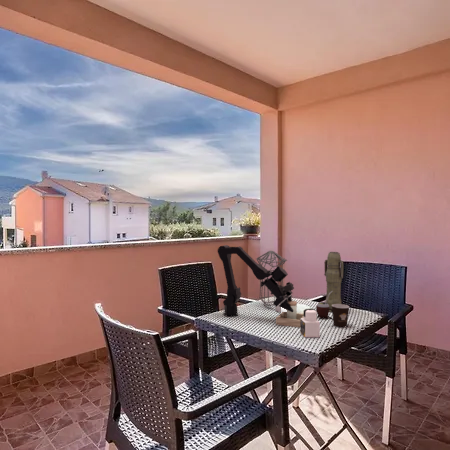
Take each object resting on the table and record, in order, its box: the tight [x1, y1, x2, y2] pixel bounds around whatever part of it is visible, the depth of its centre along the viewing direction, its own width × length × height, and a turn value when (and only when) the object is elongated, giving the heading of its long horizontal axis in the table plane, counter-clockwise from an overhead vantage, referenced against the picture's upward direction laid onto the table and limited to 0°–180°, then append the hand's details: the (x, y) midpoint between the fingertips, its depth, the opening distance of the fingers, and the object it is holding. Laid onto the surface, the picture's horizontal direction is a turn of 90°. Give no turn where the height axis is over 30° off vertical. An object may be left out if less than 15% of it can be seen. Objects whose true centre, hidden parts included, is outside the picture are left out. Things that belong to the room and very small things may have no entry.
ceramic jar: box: [287, 300, 298, 319], centre depth 188 cm, size 5×5×11 cm
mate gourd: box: [315, 291, 333, 320], centre depth 199 cm, size 8×8×15 cm
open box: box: [275, 312, 303, 328], centre depth 188 cm, size 13×13×4 cm
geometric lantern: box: [256, 250, 288, 309], centre depth 222 cm, size 16×16×35 cm
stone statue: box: [323, 251, 345, 314], centre depth 213 cm, size 9×12×35 cm
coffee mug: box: [325, 303, 350, 328], centre depth 185 cm, size 12×9×10 cm
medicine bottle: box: [299, 308, 321, 338], centre depth 168 cm, size 7×7×12 cm
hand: (294, 310), depth 188 cm, fingers open, 5 cm apart
